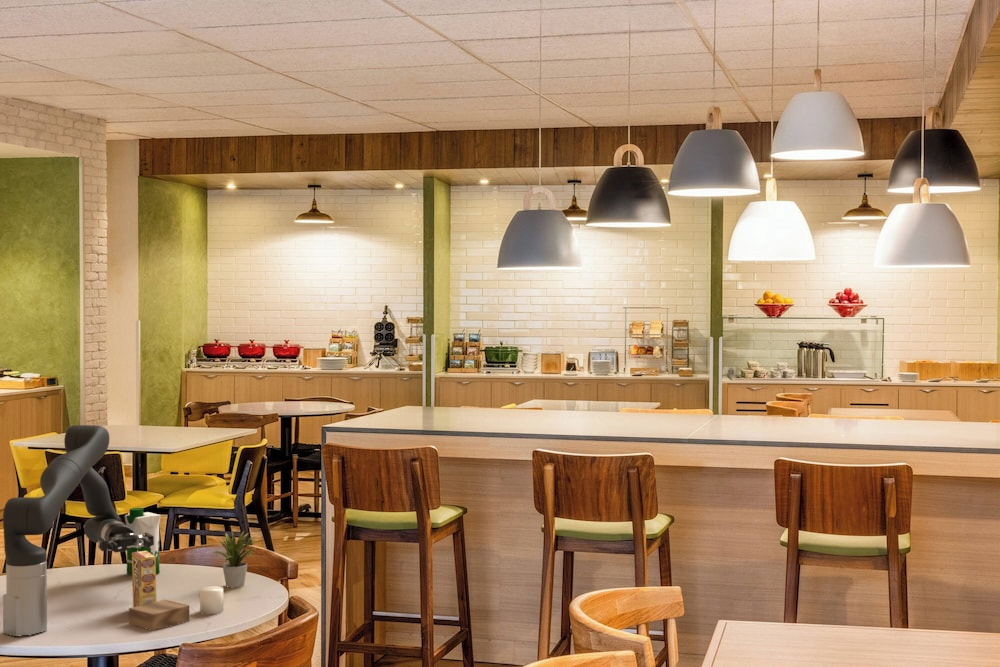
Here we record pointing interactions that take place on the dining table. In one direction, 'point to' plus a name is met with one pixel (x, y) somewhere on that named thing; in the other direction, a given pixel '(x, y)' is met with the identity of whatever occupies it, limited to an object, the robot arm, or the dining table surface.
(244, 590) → the dining table surface
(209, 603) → the white cylinder
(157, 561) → the milk carton
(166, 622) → the walnut slab
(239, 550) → the house plant
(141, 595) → the candy box
